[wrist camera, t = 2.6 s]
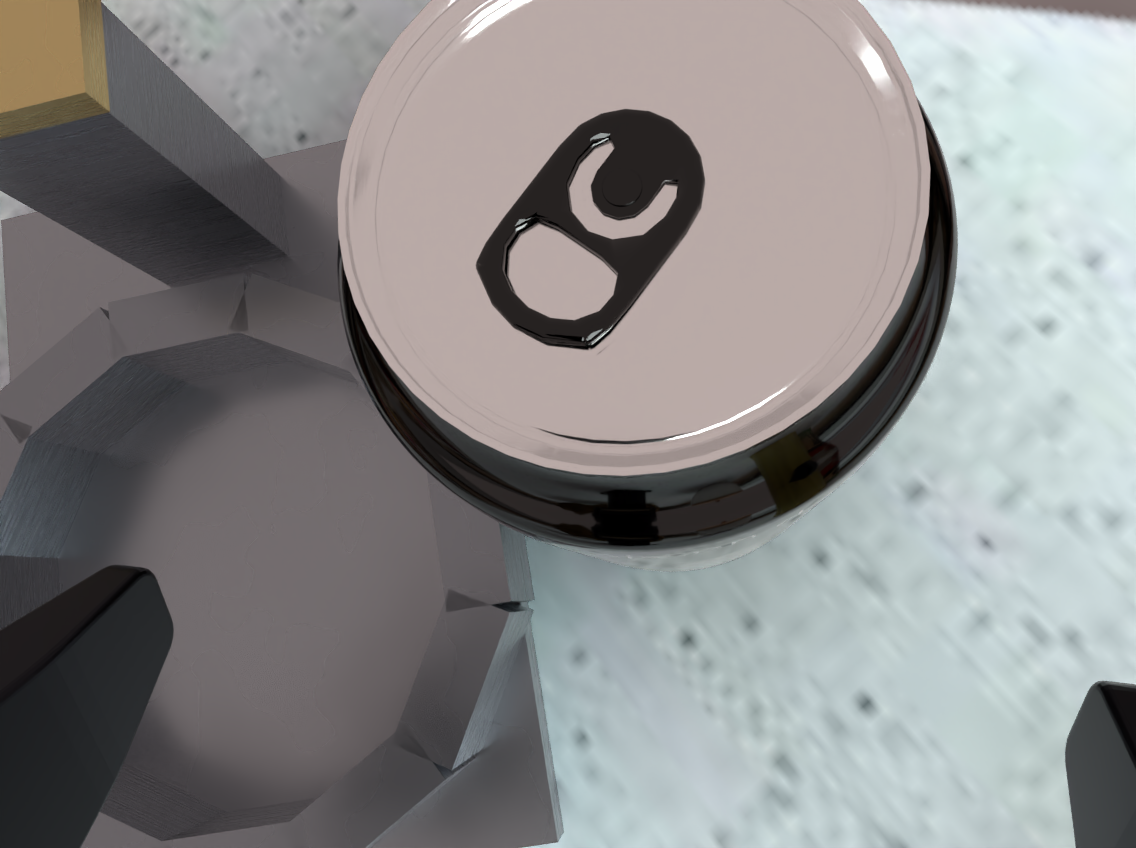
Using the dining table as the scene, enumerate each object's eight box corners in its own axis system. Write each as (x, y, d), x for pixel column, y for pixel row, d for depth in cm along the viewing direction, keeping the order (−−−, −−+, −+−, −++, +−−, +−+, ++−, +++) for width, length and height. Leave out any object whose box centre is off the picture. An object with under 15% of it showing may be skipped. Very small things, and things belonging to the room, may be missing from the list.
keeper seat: (578, 830, 19) (482, 1001, 11) (52, 906, 21) (-375, 1111, 13) (466, 130, 22) (326, -135, 14) (13, 235, 24) (-353, 47, 16)
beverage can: (453, 448, 21) (140, 271, 10) (638, 204, 22) (553, -254, 10) (707, 641, 20) (702, 713, 8) (900, 377, 20) (1165, 78, 8)
